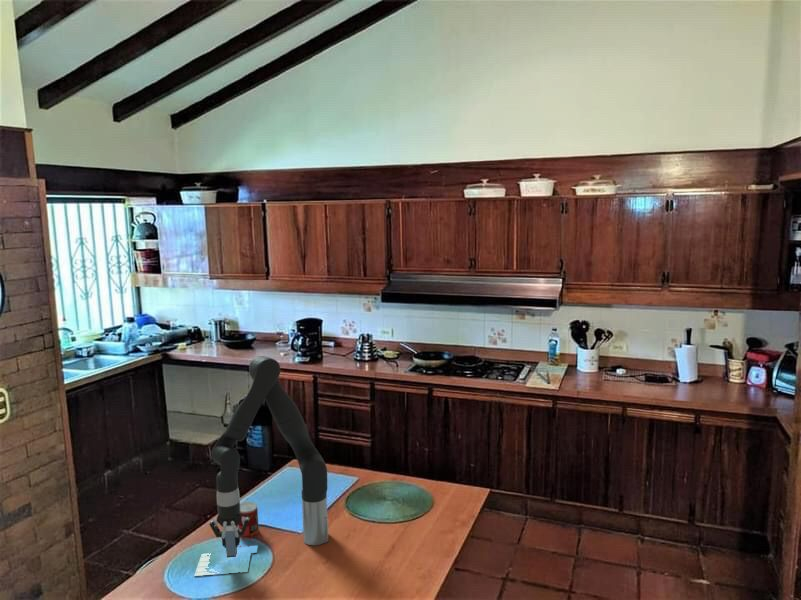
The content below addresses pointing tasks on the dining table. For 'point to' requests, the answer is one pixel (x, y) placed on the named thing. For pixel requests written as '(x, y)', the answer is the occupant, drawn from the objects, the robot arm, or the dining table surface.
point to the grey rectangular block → (230, 542)
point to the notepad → (204, 566)
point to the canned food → (252, 512)
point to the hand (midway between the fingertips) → (231, 545)
